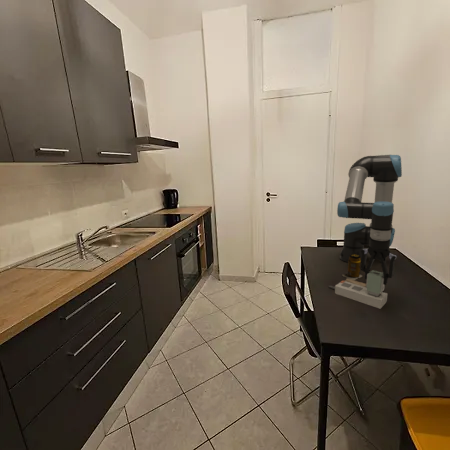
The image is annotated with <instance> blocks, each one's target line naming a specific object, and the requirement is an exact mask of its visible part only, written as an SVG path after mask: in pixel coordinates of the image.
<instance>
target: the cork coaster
mask: <svg viewBox="0 0 450 450" xmlns="http://www.w3.org/2000/svg"><path fill="white" fill-rule="evenodd" d="M344 281H346V282H350V283H353V284H356V285H360V286H363V287H366V284H367V283H365V282H361V281H358V280H352V279H349V278H347V277H346V279H345V280H344Z"/></svg>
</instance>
